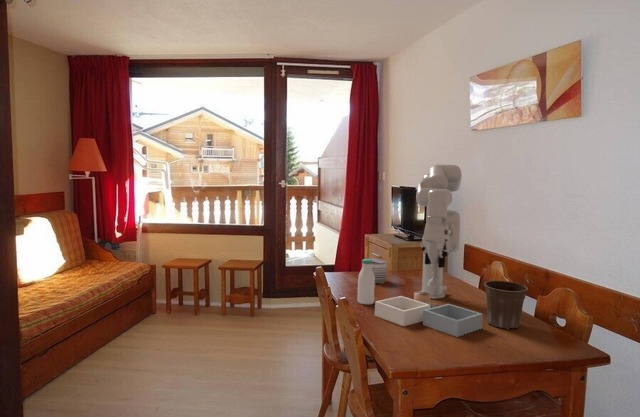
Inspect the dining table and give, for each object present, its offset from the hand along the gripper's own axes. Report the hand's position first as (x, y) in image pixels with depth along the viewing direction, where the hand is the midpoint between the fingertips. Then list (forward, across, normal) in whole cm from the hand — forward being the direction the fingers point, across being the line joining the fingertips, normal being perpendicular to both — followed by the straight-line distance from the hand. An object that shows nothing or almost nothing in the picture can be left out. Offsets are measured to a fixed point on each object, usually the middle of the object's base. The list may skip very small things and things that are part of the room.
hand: (434, 265), depth 180 cm
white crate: (+24, +11, +5) cm, 27 cm away
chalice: (+8, 0, 0) cm, 8 cm away
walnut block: (+24, +7, -7) cm, 26 cm away
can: (+24, +64, -28) cm, 73 cm away
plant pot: (+24, -17, -24) cm, 38 cm away
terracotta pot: (+24, +15, -11) cm, 30 cm away
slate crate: (+24, -7, -3) cm, 25 cm away
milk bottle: (+24, +35, +4) cm, 43 cm away
